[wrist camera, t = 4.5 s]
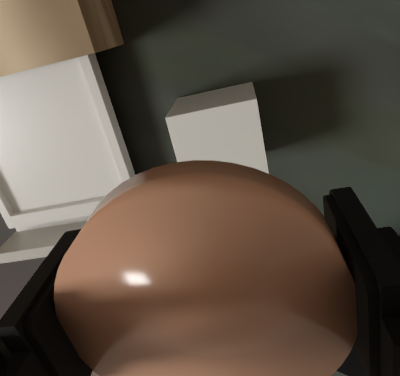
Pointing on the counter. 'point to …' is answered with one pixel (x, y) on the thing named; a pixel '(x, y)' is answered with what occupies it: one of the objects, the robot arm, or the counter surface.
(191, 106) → the block
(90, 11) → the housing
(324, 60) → the counter surface
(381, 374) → the robot arm
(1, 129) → the tray
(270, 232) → the peach dome
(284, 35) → the counter surface
